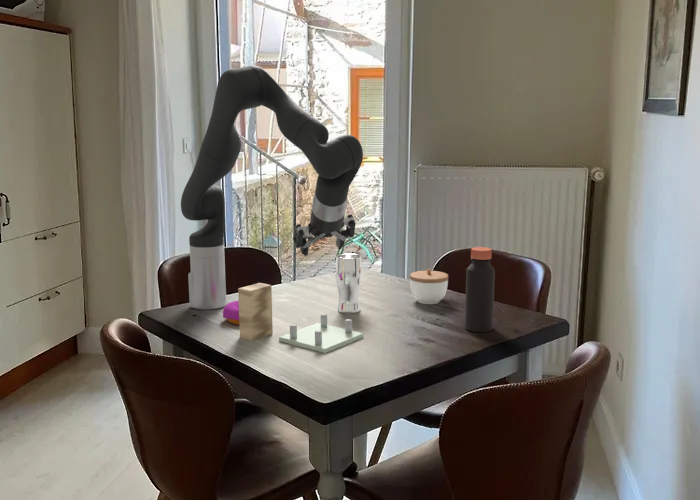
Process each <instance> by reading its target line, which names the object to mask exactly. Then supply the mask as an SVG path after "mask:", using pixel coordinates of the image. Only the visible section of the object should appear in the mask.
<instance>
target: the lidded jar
mask: <svg viewBox="0 0 700 500" xmlns="http://www.w3.org/2000/svg"><path fill="white" fill-rule="evenodd" d="M448 285H449V274H448V273H446V272H443V271H437V270H431V268H427V269H426V270H419V271H413V272H411V273H410V274H409V286H410V287H409V288H410V291H411V293H412V296H413V297H414V299H416V301H417V302H418V303H419V304H421V305H436V304H439V303H440V301H441V300H443V299H444V298H445V295H446V293H447V290H448Z"/></svg>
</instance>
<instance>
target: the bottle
mask: <svg viewBox="0 0 700 500" xmlns="http://www.w3.org/2000/svg"><path fill="white" fill-rule="evenodd" d="M470 248H471V249H470V260H471V264H469V265H468V267H467V268H466V270H465V271H466V272H465V274H466V276H465V277H466V278H465V307H464V308H465V311H464V312H465V314H464V327H465V329H466V330H467V331H469V332H472V333H488V332H490V331H492V330H493V328H494V309H495V304H494V303H495V283H496V282H495V280H496V278H495V276H496V269H495V268H494V267H493V266H492V264H491V261H492V251H493V249H492V248H490V247H485V246H483V247H482V246H476V247H470Z"/></svg>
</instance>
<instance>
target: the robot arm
mask: <svg viewBox="0 0 700 500" xmlns="http://www.w3.org/2000/svg"><path fill="white" fill-rule="evenodd" d="M261 106H262V107H265V108H266V109H269V110H271V111H273V112H274V113H275V120H276V123H277V127H278V129H279V131H280V132H281V133H282V135H283V137H284V138H285V139H286V140H288V141H289V142H290V143H291V144H293V145H294V146H295V147H296V148H298V149H299V150H301V152H302V153H303V154H304V156H305V157H306V159H307V160H308V162H309V163H310V164H311V165H312V168H313V169H314V171H315V172H316V173H317V174H318V175H317V179H316V185H315V192H314V195H313V197H312V205H311V210H310V211H311V212H310V219H309V220H310V221H309V222H308V224H307V225H304V226H302V224H300V223H298V224H296V225H295V228H294V234H293V239H292V240H293V242H294V244H295V248H296V249H300V251H301V255H303V256H304V257H308V255H309V247H310V246H311V245H312V244H315V243H316V242H318V241H319V240H322V239H325V238H332V237H333V236H334V237H335V238H336V239H335V245H336V247H337V250H342V248H343V247H344V246H345V242H346V240H347V238H349V239H350V238H353V237H354V236H355V229H356V224H357V223H356V221H355V219H354V216H353V214H348V215H347V217H346V218H345V215H346V210H347V208H348V195H349V191H350V190H349V189H350V185H351V184H352V183H353V181H354V179H355V177H356V175H357V173H358V172H359V171H360V168H361V166H362V163H363V158H364V152H363V151H364V149H363V147H362V143H361V142H360V140H359V139H358V138H357V137H355V136H354V135H352V134H349V133H348V134H342V135H339V136H338V137H335V138H333V139H331V140H330V141H328V140H329V135H330V134H329V130H328V128H327V126H326V125H324V124H323V123H322V122H320V121H319V120H318V119H316V118H315V117H313V116H312V115H311V114H310V113H308V112H307V111H305V109H303V108H302V107H300V106H299V105H298V104H297V103H296V102H295V101H294V100H293V99H292V98H291V97H290V95H289V94H288V93H287V92H286V91H285V90H284V89H283V87H281V85H280V84H279V83H278V82H277V81H276V79H274V77H272V76H271V75H270V74H269V72H268V71H266V70H265V69H264V68H262V67H261V66H259V65H247V66H242V67H236V68H231V69H227V70H225V71H224V72H223V73H222V74H221V76H220V77H219V80H218V82H217V86H216V90H215V95H214V99H213V106H212V111H211V115H210V119H209V122H208V125H207V129H206V131H205V134H204V137H203V140H202V143H201V146H200V148H199V152H198V156H197V159H196V161H195V164H194V166H193V167H194V168H193V170H192V173H191V175H190V176H189V179H188V180H187V182H186V185H185V187H184V188H183V191H182V195H181V198H180V210H181V214H182V216H183V217H184V218H185V219H187V220H189V221H194V222H195V221H197V222H198V221H207V222H206V224H205V225H204V226H203V227H202V228H200V229H198V230H196V231H193V233H190V235H189V238H188V239H189V240H188V242H189V257H190V258H189V261H190V263H189V264H190V272H188V275H187V276H188V294H189V295H188V297H189V308H193V309H197V310H206V311H207V310H216V309H221V308H224V307H225V306H226V305H227V288H226V286H227V285H226V264H225V263H226V261H225V260H226V259H225V231H226V230H225V218H226V217H225V216H226V215H225V213H226V208H225V207H226V205H225V204H226V203H225V202H226V201H225V195H224V192H223V189H222V188H221V186H219V185H217V184H216V183H217V182H219V181H221V180H222V179H223V178H224V177H226V176H227V175H228V174H229V173H230V172H231V171H232V170H233V168H234V167H235V165H236V163H237V160H238V158H239V155H240V152H241V149H242V142H241V141H242V140H241V138H240V135H239V132H238V131H237V129H236V127H235V123H236V120H237V117H238V116H239V114H240V113H241V112H242V111H245V110H249V109H254V108H258V107H261ZM344 226H345V229H343V228H344Z"/></svg>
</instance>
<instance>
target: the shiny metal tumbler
mask: <svg viewBox="0 0 700 500" xmlns="http://www.w3.org/2000/svg"><path fill="white" fill-rule="evenodd" d="M335 259H336V260H335V279H336V280H335V281H336V284H337V285H336V286H337V292H338V304H337V305H338V306H337V311H338V313H341V314H348V315H349V314H356V313H359V312H360V311H361V306H360V299H359V297H360V289H361V283H362V275H363V273H362V272H363V269H362V256H361V254H358V253H342V254H341V253H340V254H337V255H336V258H335Z"/></svg>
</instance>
